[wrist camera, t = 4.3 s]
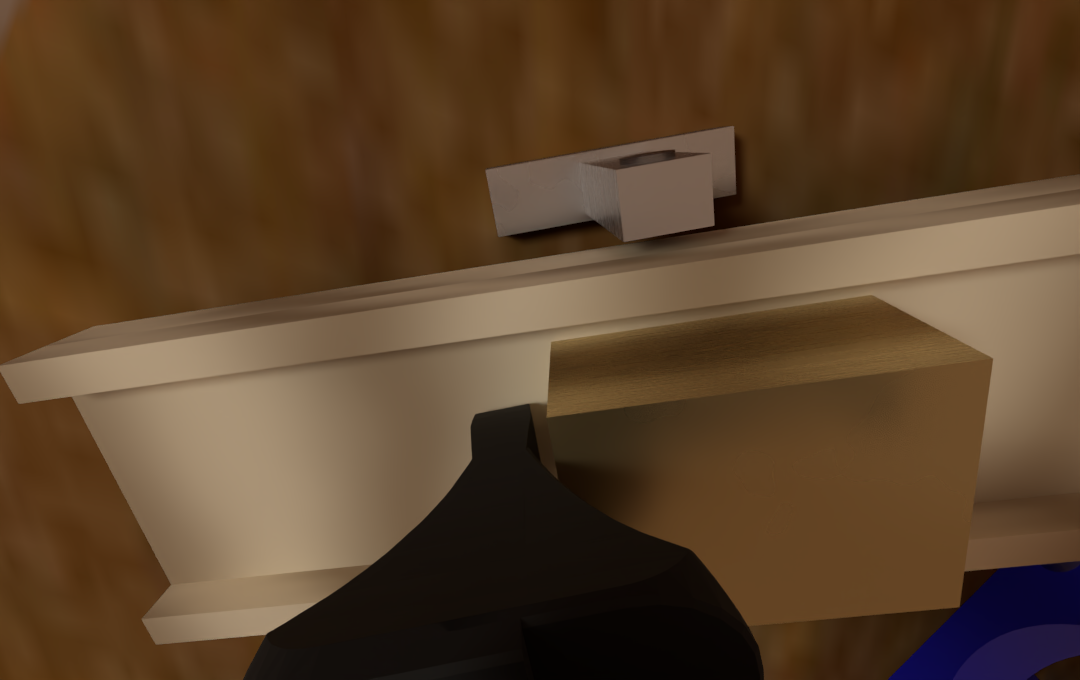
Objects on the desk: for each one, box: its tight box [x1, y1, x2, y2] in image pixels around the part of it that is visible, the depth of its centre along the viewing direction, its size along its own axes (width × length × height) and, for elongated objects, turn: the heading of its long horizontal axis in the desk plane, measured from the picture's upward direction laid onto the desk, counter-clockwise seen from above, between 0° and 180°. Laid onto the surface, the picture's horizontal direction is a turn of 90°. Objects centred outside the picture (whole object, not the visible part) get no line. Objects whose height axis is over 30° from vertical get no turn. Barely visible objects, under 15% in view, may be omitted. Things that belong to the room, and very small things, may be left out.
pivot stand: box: [486, 126, 736, 242], centre depth 13 cm, size 6×11×5 cm, turn 9°
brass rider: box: [546, 295, 993, 626], centre depth 10 cm, size 6×4×3 cm
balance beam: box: [0, 174, 1080, 644], centre depth 11 cm, size 25×7×3 cm, turn 99°
